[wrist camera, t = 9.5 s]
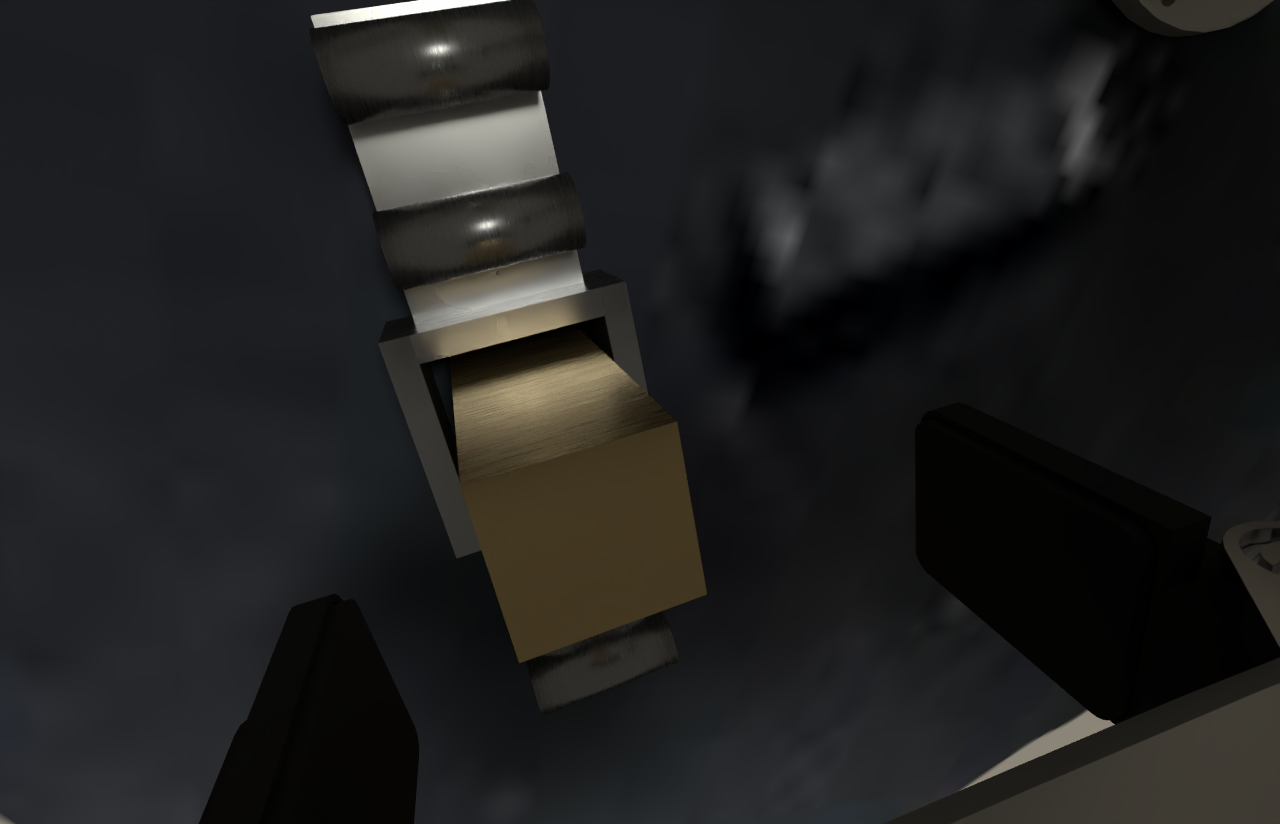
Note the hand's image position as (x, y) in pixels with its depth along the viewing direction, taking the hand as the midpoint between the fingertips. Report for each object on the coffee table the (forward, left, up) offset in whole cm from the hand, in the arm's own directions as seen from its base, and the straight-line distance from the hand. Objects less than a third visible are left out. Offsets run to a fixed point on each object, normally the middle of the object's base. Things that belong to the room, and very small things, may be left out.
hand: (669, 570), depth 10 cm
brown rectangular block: (+1, 0, -12) cm, 12 cm away
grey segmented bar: (+1, 0, -12) cm, 12 cm away
